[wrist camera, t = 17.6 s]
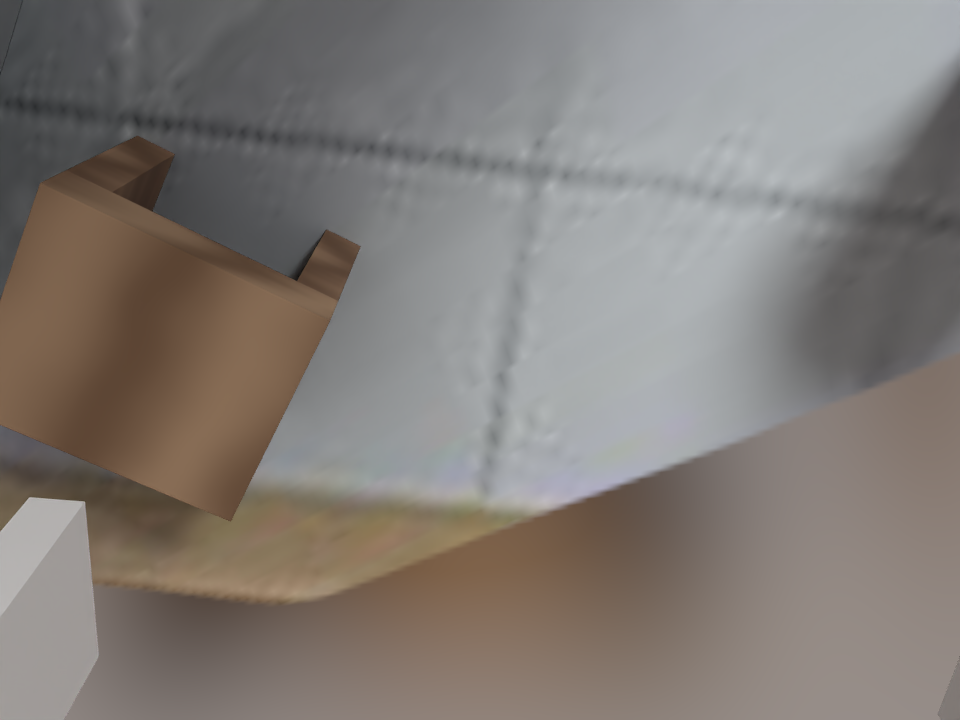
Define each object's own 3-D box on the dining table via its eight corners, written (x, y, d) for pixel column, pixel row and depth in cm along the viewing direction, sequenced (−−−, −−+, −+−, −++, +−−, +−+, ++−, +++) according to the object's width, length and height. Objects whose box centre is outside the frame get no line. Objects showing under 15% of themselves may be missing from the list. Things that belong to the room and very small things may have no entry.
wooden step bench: (258, 160, 42) (450, 322, 36) (189, 320, 45) (356, 493, 39) (-39, 100, 31) (168, 318, 25) (-103, 316, 34) (67, 557, 28)
